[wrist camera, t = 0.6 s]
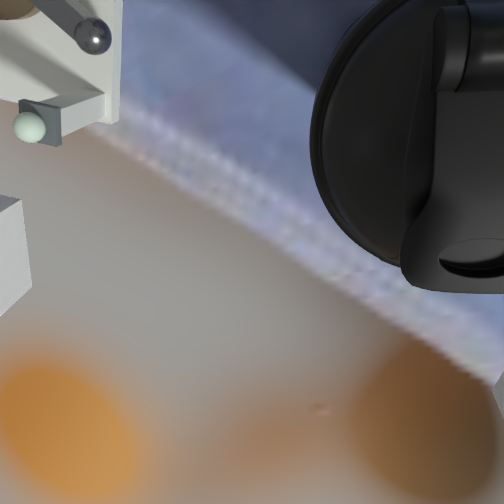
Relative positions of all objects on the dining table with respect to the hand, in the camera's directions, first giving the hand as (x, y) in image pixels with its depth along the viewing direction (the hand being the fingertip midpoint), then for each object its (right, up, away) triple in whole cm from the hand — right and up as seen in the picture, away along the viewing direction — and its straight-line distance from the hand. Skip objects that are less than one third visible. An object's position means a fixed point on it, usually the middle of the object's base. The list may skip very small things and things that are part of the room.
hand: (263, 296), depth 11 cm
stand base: (-17, +23, +20) cm, 35 cm away
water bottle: (+10, +14, +20) cm, 26 cm away
